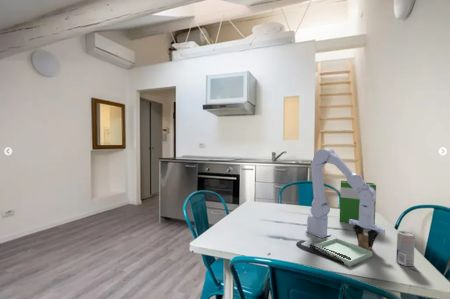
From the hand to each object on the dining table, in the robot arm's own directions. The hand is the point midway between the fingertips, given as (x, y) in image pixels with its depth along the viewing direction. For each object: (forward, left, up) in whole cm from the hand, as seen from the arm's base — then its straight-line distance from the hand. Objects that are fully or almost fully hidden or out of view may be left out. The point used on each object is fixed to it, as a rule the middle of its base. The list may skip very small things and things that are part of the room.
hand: (365, 244), depth 102 cm
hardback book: (-21, +30, -2) cm, 37 cm away
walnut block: (0, 0, -2) cm, 2 cm away
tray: (-2, -14, -2) cm, 14 cm away
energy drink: (+15, 0, -2) cm, 15 cm away
